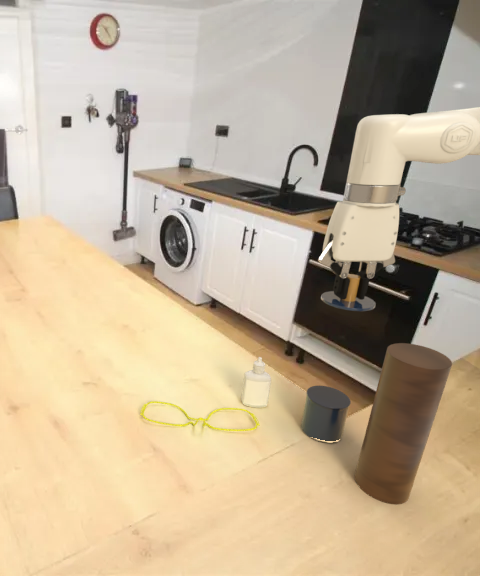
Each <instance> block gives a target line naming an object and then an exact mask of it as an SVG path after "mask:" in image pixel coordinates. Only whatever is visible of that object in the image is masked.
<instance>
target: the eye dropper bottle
mask: <svg viewBox="0 0 480 576" xmlns="http://www.w3.org/2000/svg"><path fill="white" fill-rule="evenodd" d="M265 370H266V363H265V362H264V361H263V358H262V356H258V358H257V360H254V361H253V364H252V369H251V370H248V371H245V372H244V374H243V381H242V388H241V389H242V390H241V396H240V397H241V399H240V400H241V403H242V405H244V406H247V407H250V408H255V409H256V408H257V409H261V408H267V407H268V404H269V399H270V392H271V385H272V377H271V375H270V374H269V372H267V371H265Z"/></svg>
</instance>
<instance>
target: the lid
mask: <svg viewBox="0 0 480 576" xmlns="http://www.w3.org/2000/svg"><path fill="white" fill-rule="evenodd" d="M347 278H349V279H350V283H349V288H348V293H347V297H346V299H340V298H339V297H337V296H336V295H335V294H334V291H333V290H330V291H325V292H323V293H321V296H320V300H321V301H322V302H323V303H324V304H326V305H328V306H330V307H333V308H336V309H341V310H344V311H352V312H367V311H369V312H370V311H373V310H374V309H375V308H376V304H377V303H376V301H374V299H372V298H371V297H368V296H366V295H365V297H364V299H363V300H360V299H358V298H357V297H356V296H357V291H358V287H359V282H360V278H361V277H360V276H358V275H356V274H354V273H348V277H347Z"/></svg>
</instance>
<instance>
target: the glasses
mask: <svg viewBox="0 0 480 576" xmlns="http://www.w3.org/2000/svg"><path fill="white" fill-rule="evenodd" d="M150 404H161V405H168V406H173V407H175V408H178V409H179V410H180V411H181V412H182V413H184V415H185V416H186V418H187V419H188V420H189V419H190V420H193V421H195V422H193V421H188V422H186V423H184V424H179V423H178V424H177V423H170V422H169V423H168V422H162V421H157V420H153V419H150V418H147V417H146V416H145V411H146V408H147V407H148V405H150ZM227 410H231V411H241V412H246V413H248V414H249V415H250V417H251V418H252V419H253V421H254V423H255V426H254V427H252V428H239V429H238V428H222V427H221V428H220V427H215V426H212V425H210V424H209V423H208V422H206V421H209V420H210V417H211V416H212V415H213V414H215V413H217V412H219V411H227ZM139 413H140V416H142V417H143V419H144V420H146V421H148V422H152V423H156V424H159V425H165V426H170V427H171V426H173V427H186V426H188V425H190V424H191V425H192V426H193V427H195V426H196V425H197V424H198V422H199V421H201V422H202V421H203V423H202V424H201V425H202V427H206V426H207V427H209V428H211V429H212V430H218V431H224V432H225V431H226V432H247V431H248V432H249V431H250V432H251V431H253V430H256V429H257V428H258V426H260V422H259V420H258V417H257V416H256V415H255V414H254V413H253V412H250V411H249V410H248V409H245V408H240V407H239V408H238V407H221V408H216V409H214V410H212V411H211V412H210V413H209V414H208V416H207V417H206V418H203V417H201V416H200V417H198V418H196V417H191V416H189V414H188V413H187V412H186V411H185V409H183V408H182V407H181V406H179V405H176V404H174V403H171V402H164V401H155V400H153V401H152V400H151V401H148V402H147V403H144V404H143V405H142V407H141V410H140V412H139Z"/></svg>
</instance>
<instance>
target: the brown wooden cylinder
mask: <svg viewBox="0 0 480 576" xmlns="http://www.w3.org/2000/svg"><path fill="white" fill-rule="evenodd" d="M452 366H453V361H452V360H451V359H450V358H449V356H447V355H446V354H444V353H443V352H440V351H438V350H436V349H433V348H431V347H427V346H424V345H419V344H414V343H408V342H407V343H405V342H399V343H397V342H396V343H393V344H392V343H391V344H390V345H388V346H387V347H386V352H385V355H384V360H383V363H382V367H381V371H380V375H379V378H378V383H377V385H376V386H377V387H376V390H375V394H374V398H373V402H372V405H371V410H370V414H369V417H368V422H367V425H366V429H365V434H364V436H363V441H362V445H361V449H360V453H359V457H358V461H357V464H356V469H355V472H354V481H355V480H356V481H355V482H357V483H356V485H357V486H358V485H359V486H360V487H359V486H358V487H359V488H360V490H362V491H363V492H364V493H365V492H366V493H365V494H367V495H368V494H369V495H368V496H369V497H371V496H372V497H371V498H373V499H375V500H377V501H380V502H382V503H386V504H390V505H402V504H404V503H406V502H407V501H408V500H409V499H410V495H411V492H412V489H413V486H414V483H415V480H416V477H417V473H418V470H419V468H420V465H421V462H422V458H423V455H424V452H425V449H426V447H427V444H428V441H429V440H428V439H429V437H430V433H431V430H432V428H433V424H434V421H435V419H436V415H437V412H438V409H439V406H440V403H441V400H442V397H443V394H444V391H445V388H446V385H447V382H448V377H449V375H450V372H451V369H452Z"/></svg>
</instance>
